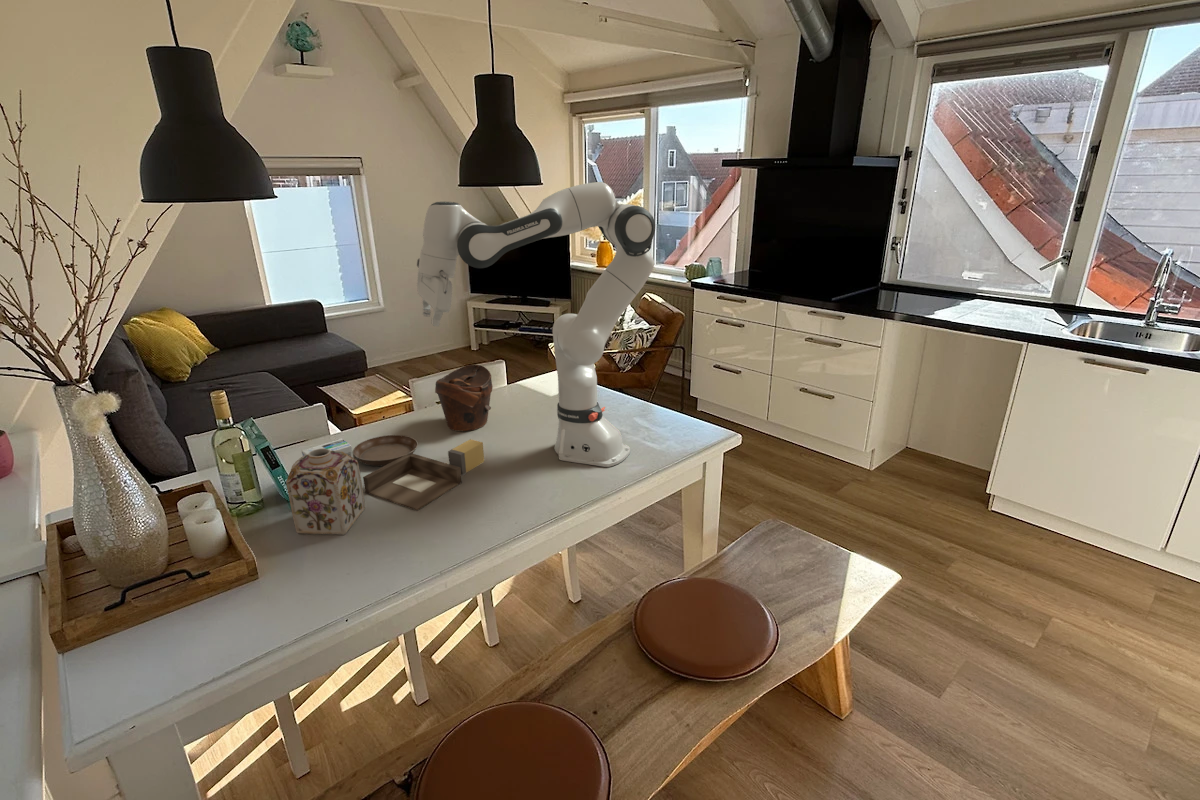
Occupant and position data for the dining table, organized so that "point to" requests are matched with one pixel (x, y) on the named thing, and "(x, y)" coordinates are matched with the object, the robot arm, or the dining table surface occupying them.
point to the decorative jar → (325, 492)
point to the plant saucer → (384, 449)
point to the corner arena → (412, 481)
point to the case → (465, 397)
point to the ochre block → (467, 455)
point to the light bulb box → (332, 447)
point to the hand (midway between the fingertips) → (430, 320)
